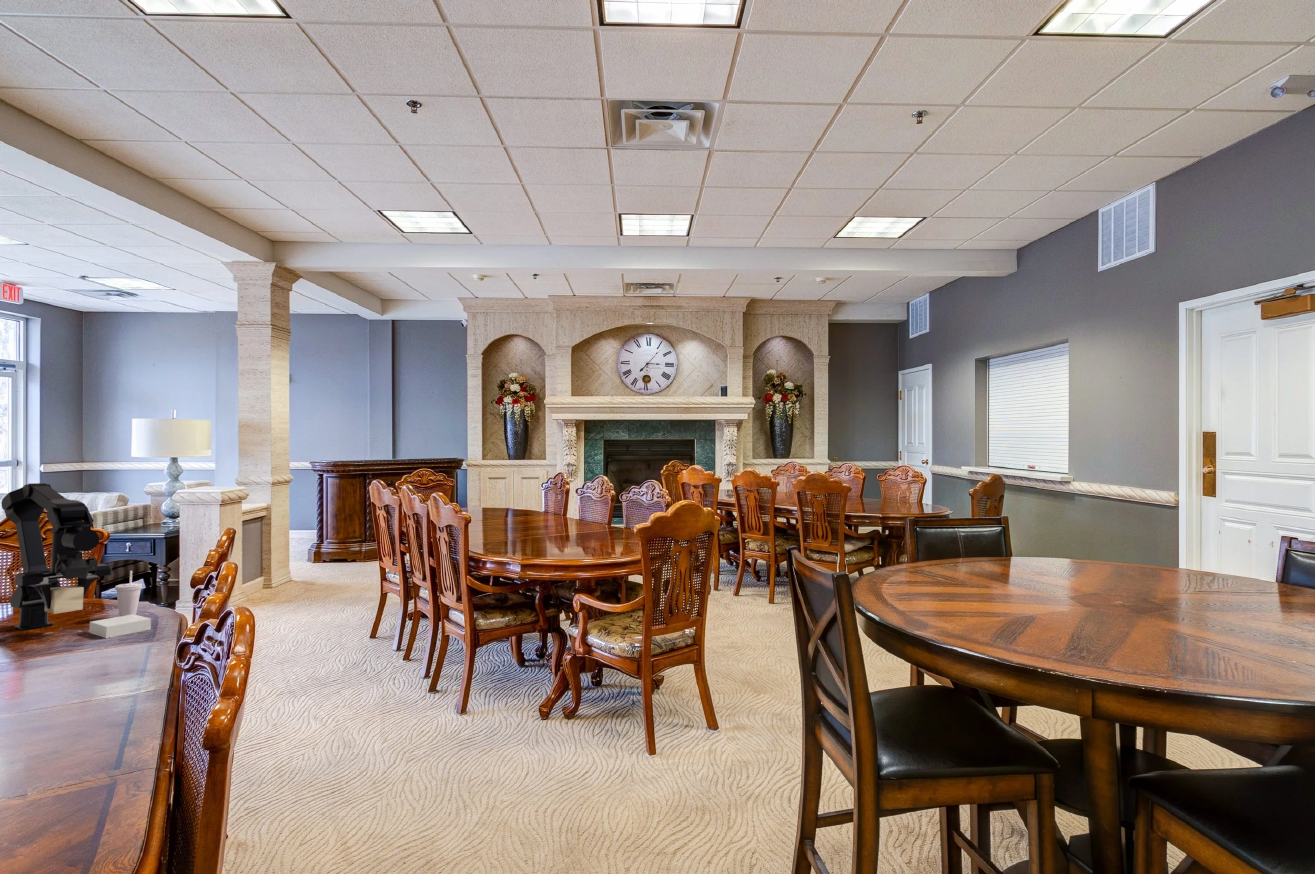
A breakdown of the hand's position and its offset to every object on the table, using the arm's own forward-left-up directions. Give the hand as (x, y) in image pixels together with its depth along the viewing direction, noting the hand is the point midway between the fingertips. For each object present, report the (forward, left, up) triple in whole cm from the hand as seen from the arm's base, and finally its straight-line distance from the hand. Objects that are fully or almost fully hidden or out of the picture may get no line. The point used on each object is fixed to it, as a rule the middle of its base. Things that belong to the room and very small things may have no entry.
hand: (63, 606), depth 172 cm
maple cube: (0, 0, -1) cm, 1 cm away
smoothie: (-6, +17, -8) cm, 20 cm away
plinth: (+10, +9, -8) cm, 15 cm away
